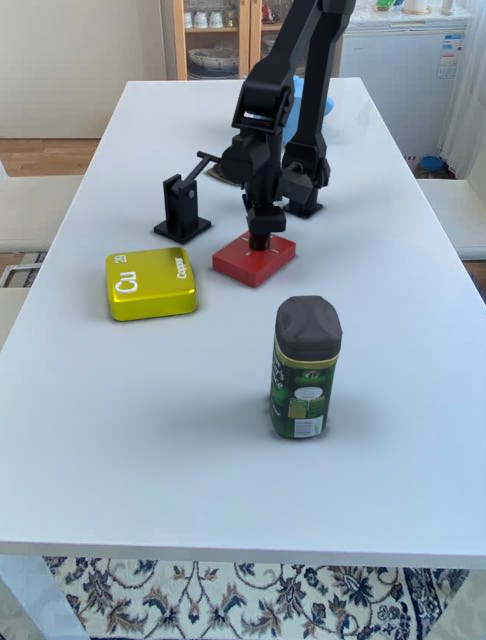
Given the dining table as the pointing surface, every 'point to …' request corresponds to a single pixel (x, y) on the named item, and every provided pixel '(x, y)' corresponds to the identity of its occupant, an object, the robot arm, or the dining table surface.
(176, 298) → the element tile
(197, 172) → the black lever handle
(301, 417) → the coffee jar
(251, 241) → the knob
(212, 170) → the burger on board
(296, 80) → the teakettle
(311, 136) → the robot arm
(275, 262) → the dial panel
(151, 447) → the dining table surface
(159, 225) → the lever bracket
